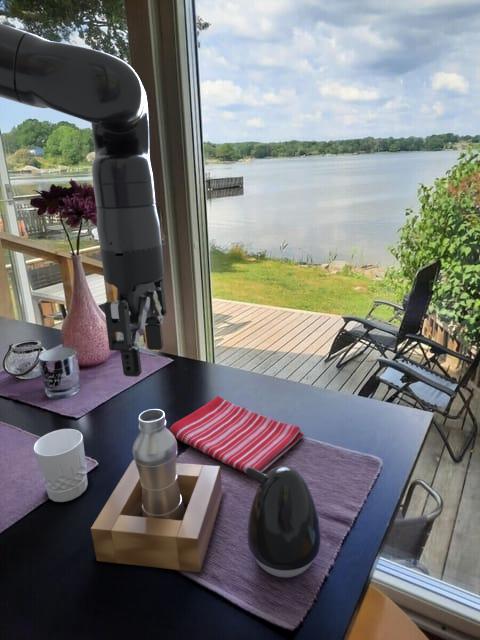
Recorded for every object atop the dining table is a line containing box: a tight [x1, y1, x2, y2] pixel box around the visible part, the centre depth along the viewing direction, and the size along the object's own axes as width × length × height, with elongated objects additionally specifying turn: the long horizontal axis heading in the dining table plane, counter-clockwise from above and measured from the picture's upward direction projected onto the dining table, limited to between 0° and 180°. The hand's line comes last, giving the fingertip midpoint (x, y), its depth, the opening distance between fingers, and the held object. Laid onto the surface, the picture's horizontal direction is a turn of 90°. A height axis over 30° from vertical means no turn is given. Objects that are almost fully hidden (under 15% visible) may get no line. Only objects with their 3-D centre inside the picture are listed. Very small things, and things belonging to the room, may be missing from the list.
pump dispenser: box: [245, 465, 322, 578], centre depth 61 cm, size 10×10×15 cm
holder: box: [90, 459, 223, 573], centre depth 69 cm, size 16×16×6 cm
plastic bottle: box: [131, 408, 186, 521], centre depth 67 cm, size 6×7×20 cm
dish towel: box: [168, 395, 304, 474], centre depth 92 cm, size 17×24×3 cm
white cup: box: [33, 428, 89, 503], centre depth 77 cm, size 8×8×10 cm
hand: (145, 361), depth 60 cm, fingers open, 8 cm apart
